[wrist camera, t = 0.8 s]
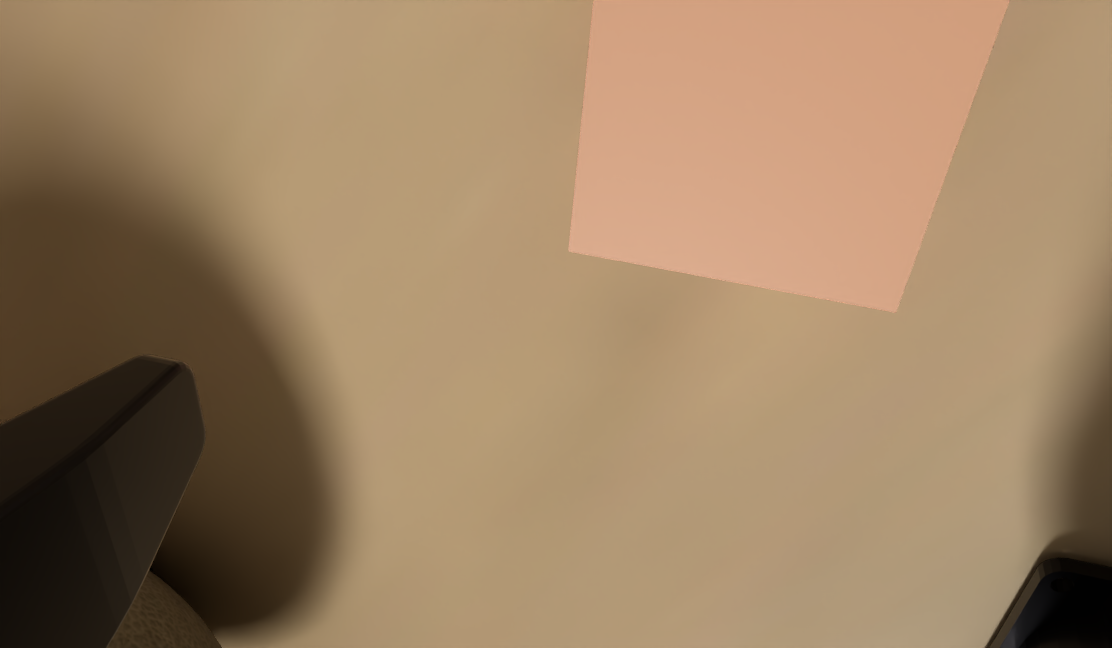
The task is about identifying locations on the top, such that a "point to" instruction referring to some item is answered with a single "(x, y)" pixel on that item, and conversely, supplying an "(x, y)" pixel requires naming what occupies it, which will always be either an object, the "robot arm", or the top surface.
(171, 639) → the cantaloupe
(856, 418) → the top surface
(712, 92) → the terracotta cube
